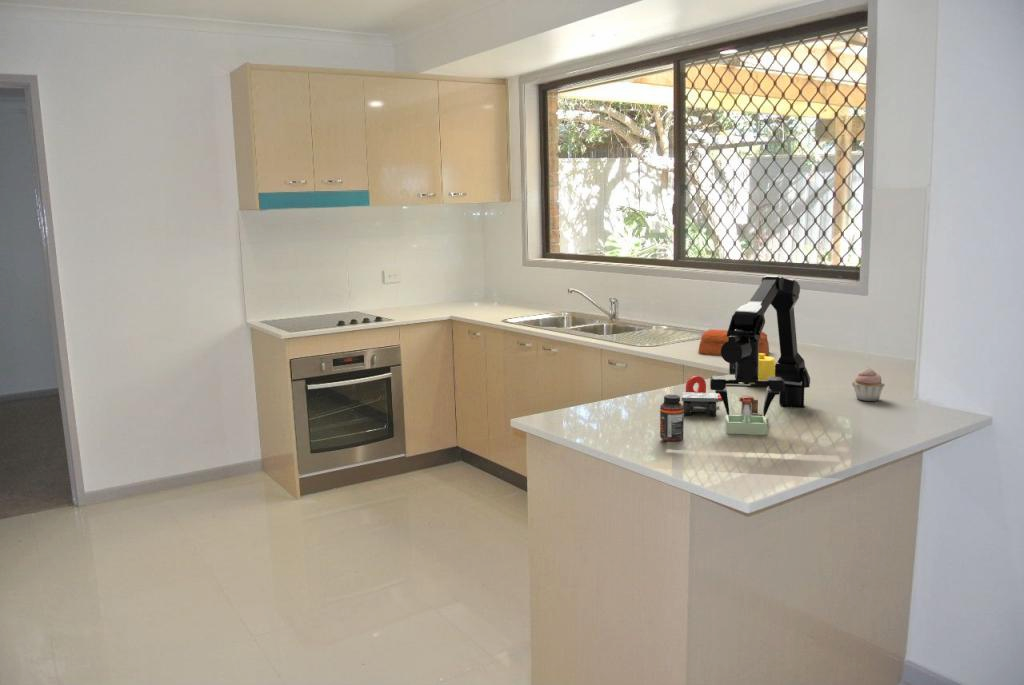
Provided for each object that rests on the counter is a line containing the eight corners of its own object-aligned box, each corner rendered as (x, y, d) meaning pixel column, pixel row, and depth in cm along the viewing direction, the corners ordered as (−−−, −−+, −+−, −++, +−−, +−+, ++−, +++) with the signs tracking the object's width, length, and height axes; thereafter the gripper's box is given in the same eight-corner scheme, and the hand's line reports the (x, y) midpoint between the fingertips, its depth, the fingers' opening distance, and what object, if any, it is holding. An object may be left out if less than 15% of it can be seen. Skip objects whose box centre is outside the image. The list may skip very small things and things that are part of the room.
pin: (752, 426, 216) (753, 396, 215) (753, 430, 213) (754, 399, 212) (738, 426, 217) (739, 396, 216) (739, 429, 214) (740, 399, 212)
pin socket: (766, 420, 224) (766, 413, 224) (767, 426, 219) (768, 418, 218) (743, 419, 226) (743, 412, 225) (744, 425, 220) (744, 418, 220)
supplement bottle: (657, 436, 212) (657, 393, 210) (679, 435, 212) (680, 392, 210) (663, 442, 206) (663, 399, 204) (686, 441, 206) (686, 398, 204)
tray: (764, 426, 218) (764, 416, 218) (767, 434, 210) (767, 423, 210) (725, 425, 220) (725, 414, 220) (726, 433, 212) (726, 422, 212)
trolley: (718, 411, 236) (719, 393, 236) (719, 417, 229) (719, 399, 228) (680, 410, 239) (680, 392, 238) (679, 416, 231) (679, 397, 231)
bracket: (694, 405, 245) (694, 379, 244) (685, 402, 249) (685, 376, 248) (726, 400, 250) (726, 375, 249) (717, 397, 254) (717, 373, 253)
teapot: (776, 392, 259) (776, 359, 258) (740, 390, 263) (741, 357, 262) (780, 381, 276) (780, 350, 274) (746, 379, 280) (747, 349, 278)
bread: (764, 362, 311) (765, 335, 310) (695, 358, 323) (695, 332, 322) (771, 356, 325) (772, 329, 323) (705, 352, 337) (705, 327, 335)
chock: (756, 412, 235) (756, 395, 234) (757, 417, 229) (757, 400, 228) (741, 411, 235) (742, 395, 235) (742, 416, 230) (743, 399, 229)
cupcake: (870, 394, 253) (871, 363, 251) (891, 401, 244) (892, 368, 242) (844, 396, 250) (845, 365, 249) (864, 403, 242) (865, 370, 240)
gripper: (781, 352, 218) (780, 409, 220) (710, 351, 222) (709, 407, 224) (785, 360, 207) (784, 419, 210) (710, 359, 211) (710, 417, 214)
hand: (746, 415), depth 215 cm, fingers open, 9 cm apart
